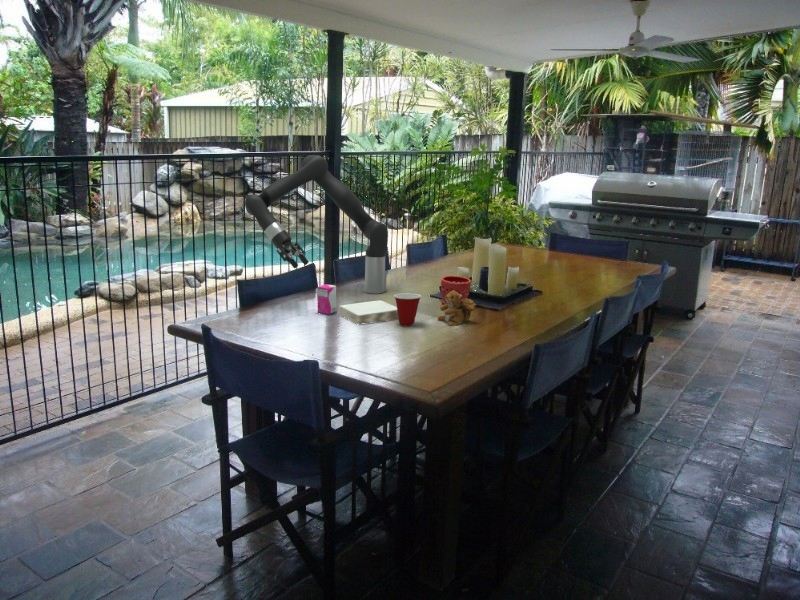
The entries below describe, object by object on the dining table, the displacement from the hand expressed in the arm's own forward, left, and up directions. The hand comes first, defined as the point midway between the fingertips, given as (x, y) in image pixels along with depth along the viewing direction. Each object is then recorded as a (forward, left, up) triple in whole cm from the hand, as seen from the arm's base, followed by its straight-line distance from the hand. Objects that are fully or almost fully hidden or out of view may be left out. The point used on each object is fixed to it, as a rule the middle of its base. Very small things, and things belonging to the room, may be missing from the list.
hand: (301, 265), depth 271 cm
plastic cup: (-28, +38, -19) cm, 51 cm away
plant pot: (-64, +23, -19) cm, 70 cm away
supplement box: (-7, +10, -19) cm, 22 cm away
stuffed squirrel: (-48, +45, -19) cm, 68 cm away
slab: (-20, +23, -19) cm, 35 cm away
